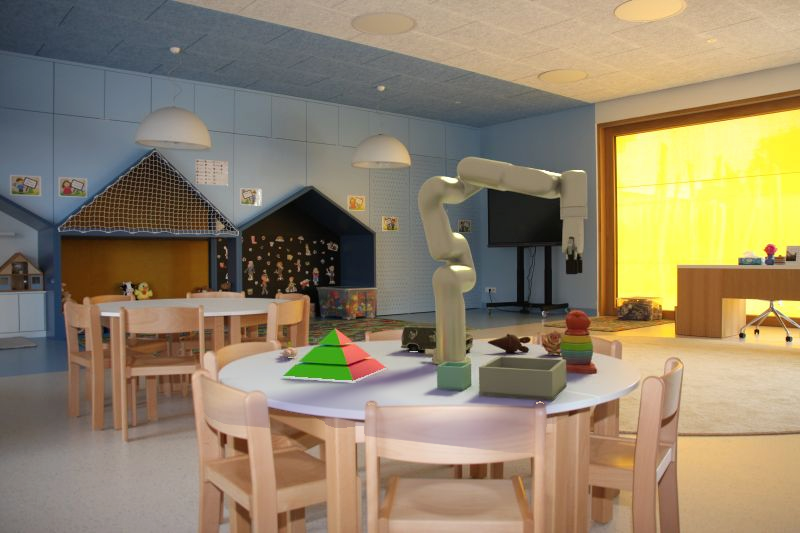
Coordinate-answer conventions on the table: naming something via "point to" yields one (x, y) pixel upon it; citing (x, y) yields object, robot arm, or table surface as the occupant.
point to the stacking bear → (577, 344)
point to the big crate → (522, 378)
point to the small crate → (454, 376)
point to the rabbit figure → (289, 351)
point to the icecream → (511, 343)
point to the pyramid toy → (335, 360)
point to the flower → (552, 342)
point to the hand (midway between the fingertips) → (574, 273)
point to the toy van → (424, 337)
